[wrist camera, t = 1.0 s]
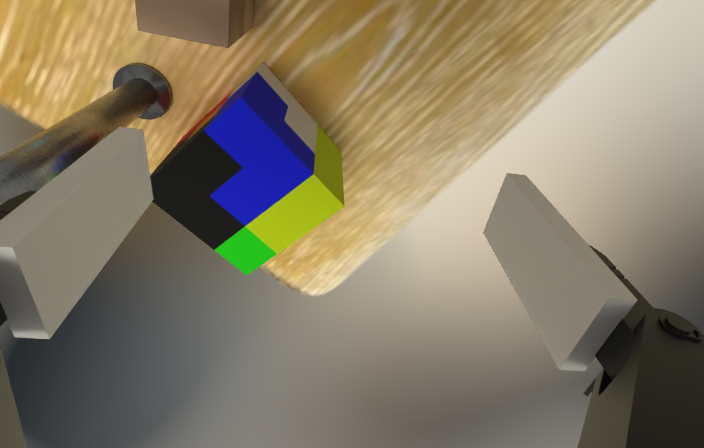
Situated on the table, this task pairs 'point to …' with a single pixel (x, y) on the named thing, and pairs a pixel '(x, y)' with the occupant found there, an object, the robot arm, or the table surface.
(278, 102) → the puzzle toy
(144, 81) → the post
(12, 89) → the table surface
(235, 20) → the walnut block
